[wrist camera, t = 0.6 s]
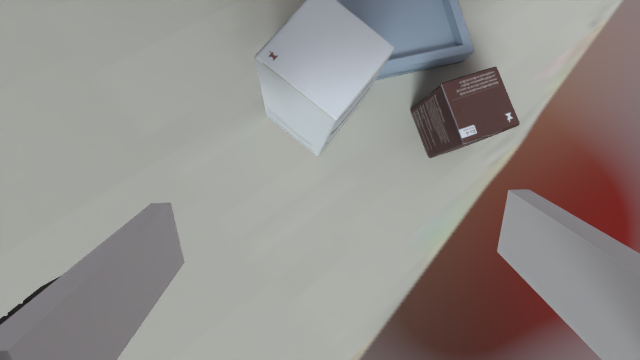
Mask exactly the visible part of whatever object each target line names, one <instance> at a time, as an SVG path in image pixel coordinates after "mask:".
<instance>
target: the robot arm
mask: <svg viewBox="0 0 640 360" xmlns="http://www.w3.org/2000/svg"><path fill="white" fill-rule="evenodd" d="M497 252H498V253H499V254H500V255H501V256H502V257H503V258H504V259H505V260H506V261H507V262H508V263H509V264H510V265H511V266H512V267H513V268H514V269H515V270H516V271H517V272H518V273H519V275H521V276H522V277H523V279H524V280H525V281H526V282H527V283H528V284H529V285H530V286H531V287H532V288H533V289H534V290H535V291H536V292H537V293H538V294H539V295H540V296H541V297H542V298H543V299H544V300H545V301H546V302H547V303H548V304H549V305H550V306H551V308H553V310H554V311H555V312H556V313H557V314H558V315H559V316H560V317H561V318H562V319H563V320H564V321H565V322H566V323H567V324H568V325H569V326H570V327H571V328H572V329H573V330H574V331H575V332H576V333H577V334H578V335H579V336H580V337H581V338H582V340H583V341H585V343H586V344H587V345H588V346H589V347H590V348H591V349H592V350H593V351H594V352H595V353H596V354H597V355H598V356H599V357H600V358H601V359H602V360H640V254H639V253H637V252H635V251H634V250H632V249H630V248H629V247H627V246H625V245H624V244H622V243H620V242H618V241H617V240H615V239H613V238H611V237H610V236H608V235H606V234H604V233H603V232H601V231H599V230H598V229H596V228H594V227H592V226H591V225H589V224H587V223H586V222H584V221H582V220H580V219H579V218H577V217H575V216H574V215H572V214H570V213H568V212H567V211H565V210H563V209H561V208H560V207H558V206H556V205H555V204H553V203H551V202H549V201H548V200H546V199H544V198H542V197H541V196H539V195H537V194H535V193H534V192H532V191H530V190H528V189H526V190H509V191H508V196H507V201H506V207H505V212H504V218H503V223H502V228H501V233H500V239H499V244H498V249H497ZM183 264H184V258H183V254H182V250H181V245H180V241H179V237H178V232H177V228H176V223H175V219H174V215H173V210H172V206H171V203H151V204H150V205H149V206H148V207H146V208H145V209H144V210H143V211H141V212H140V213H139V214H138V215H136V216H135V217H134V218H133V219H131V220H130V221H129V222H128V223H126V224H125V225H124V226H123V227H122V228H120V229H119V230H118V231H117V232H115V233H114V234H113V235H112V236H110V237H109V238H108V239H107V240H105V241H104V242H103V243H102V244H100V245H99V246H98V247H97V248H95V249H94V250H93V251H92V252H90V253H89V254H88V255H87V256H85V257H84V258H83V259H82V260H81V261H79V262H78V263H77V264H76V265H74V266H73V267H72V268H71V269H69V270H68V271H67V272H66V273H64V274H63V275H62V276H60V277H58V278H56V279H55V280H53V281H51V282H49V283H47V284H45V285H44V286H42V287H40V288H39V289H38V290H36V291H35V292H34V293H33V294H31V295H30V296H29V297H28V298H26V299H25V300H24V301H23V303H22V304H19V305H17V306H16V307H15V308H14V309H12V310H11V311H10V312H8V315H7V316H3V317H2V318H1V319H0V360H117V358H118V357H119V356H120V354H121V353H122V351H123V350H124V348H125V347H126V346H127V344H128V343H129V341H130V340H131V338H132V337H133V335H134V334H135V333H136V331H137V330H138V328H139V327H140V325H141V324H142V323H143V321H144V320H145V318H146V317H147V315H148V314H149V312H150V311H151V310H152V308H153V307H154V305H155V304H156V302H157V301H158V300H159V298H160V297H161V295H162V294H163V292H164V291H165V289H166V288H167V287H168V285H169V284H170V282H171V281H172V279H173V278H174V277H175V275H176V274H177V272H178V271H179V269H180V268H181V266H182V265H183Z"/></svg>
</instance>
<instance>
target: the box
mask: <svg viewBox="0 0 640 360" xmlns="http://www.w3.org/2000/svg"><path fill="white" fill-rule="evenodd" d="M411 114H412V117H413V119H414V122H415V124H416V126H417V129H418V132H419V134H420V137H421V140H422V142H423V145H424V148H425V151H426V153H427V156H428V157H429V158H432V157H435V156H438V155H441V154H444V153H447V152H450V151H453V150H456V149H459V148H462V147H464V146H467V145H470V144H472V143H475V142H478V141H480V140H483V139H486V138H488V137H491V136H493V135H496V134H499V133H501V132H504V131H506V130H508V129H511V128H514V127H516V126H518V125H519V121H518V118H517V116H516V113H515V111H514V109H513V106H512V104H511V101H510V99H509V97H508V94H507V92H506V89H505V87H504V84H503V81H502V79H501V77H500V74H499V72H498V70H497V67H492V68H489V69H485V70H482V71H479V72H476V73H472V74H469V75H466V76H463V77H460V78H457V79H453V80H450V81H447V82H444V83H442V84H440V86H439V87H437V88H436V89H435V90H434V91H432V92H431V93H430V94H429V95H428V96H426V97H425V98H424V99H423V100H422V101H420V102H419V103H418V104H417V105H416V106H414V107H413V108H412V109H411Z"/></svg>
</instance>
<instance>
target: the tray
mask: <svg viewBox="0 0 640 360" xmlns="http://www.w3.org/2000/svg"><path fill="white" fill-rule="evenodd" d="M337 1H338V2H340V3H341V4H342V5H343V6H344V7H345V8H347V9H348V10H349V11H350V12H351V13H353V14H354V15H355V16H356V17H358V18H359V19H360V20H361V21H363V22H364V23H365V24H366V25H368V26H369V27H370V28H371V29H373V30H374V31H375V32H376V33H378V34H379V35H380V36H381V37H383V38H384V39H385V40H386V41H388V42H389V43H390V44H391V45H392V46H394V47H395V49H394V51H393V52H392V54H391V56H390V57H389V59H388V60H387V62H386V63H385V65H384V67H383V68H382V70H381V71H380V73H379V75H378V76H377V78H376V79H375V80H379V79H384V78H388V77H393V76H398V75H402V74H407V73H412V72H416V71H421V70H425V69H430V68H435V67H439V66H444V65H449V64H453V63H458V62H463V61H464V60H465V59H466V58H467V57H469V56H470V55H471V54H472V53H473V52H474V49H473V46H472V43H471V40H470V37H469V34H468V30H467V27H466V24H465V21H464V18H463V15H462V12H461V9H460V6H459V3H458V0H337Z"/></svg>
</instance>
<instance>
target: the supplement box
mask: <svg viewBox="0 0 640 360" xmlns="http://www.w3.org/2000/svg"><path fill="white" fill-rule="evenodd" d="M394 49H395V47H394V46H392V45H391V44H390V43H389V42H388V41H386V40H385V39H384V38H383V37H381V36H380V35H379V34H378V33H376V32H375V31H374V30H373V29H371V28H370V27H369V26H368V25H366V24H365V23H364V22H363V21H361V20H360V19H359V18H358V17H356V16H355V15H354V14H353V13H351V12H350V11H349V10H348V9H347V8H345V7H344V6H343V5H342V4H341V3H340V2H338V1H337V0H306V1H305V2H304V3H303V4H302V5H301V6H300V7H299V8H298V9H297V10H296V12H295V13H294V14H293V15H292V16H291V17H290V18H289V19H288V20H287V21H286V22H285V23H284V24H283V25H282V27H281V28H280V29H279V30H278V31H277V32H276V33H275V35H274V36H273V37H272V38H271V39H270V40H269V41H268V42H267V43H266V44H265V46H264V47H263V48H262V49H261V50H260V51H259V52H258V53H257V54H256V55H255V63H256V67H257V72H258V77H259V82H260V86H261V91H262V96H263V101H264V106H265V111H266V115H267V116H268V117H269V118H270V119H271V120H273V121H274V122H275V123H276V124H278V125H279V126H280V127H281V128H283V129H284V130H285V131H286V132H287V133H289V134H290V135H291V136H292V137H294V138H295V139H296V140H297V141H299V142H300V143H301V144H302V145H304V146H305V147H306V148H307V149H309V150H310V151H311V152H312V153H314V154H315V155H316V156H318V155H319V154H320V153H321V152H322V150H323V149H324V148H325V146H326V145H327V144H328V143H329V141H330V140H331V139H332V138H333V137H334V135H335V134H336V133H337V132H338V130H339V129H340V128H341V127H342V125H343V124H344V123H345V122H346V121H347V119H348V118H349V117H350V116H351V114H352V113H353V112H354V111H355V110H356V109H357V107H358V105H359V104H360V102H361V101H362V99H363V98H364V96H365V95H366V93H367V92H368V90H369V89H370V87H371V86H372V84H373V83H374V81H375V79H376V78H377V76H378V75H379V73H380V71H381V70H382V68H383V67H384V65H385V63H386V62H387V60H388V59H389V57H390V56H391V54H392V52H393V51H394Z"/></svg>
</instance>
